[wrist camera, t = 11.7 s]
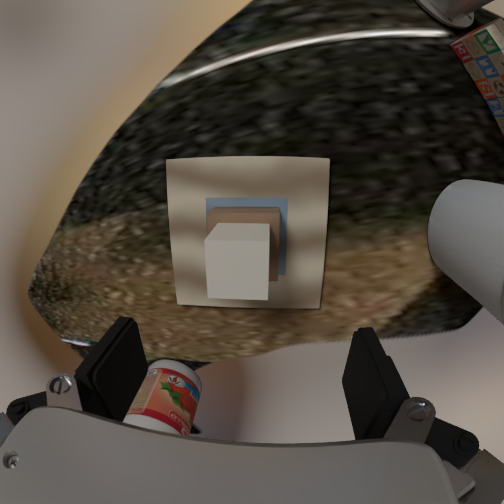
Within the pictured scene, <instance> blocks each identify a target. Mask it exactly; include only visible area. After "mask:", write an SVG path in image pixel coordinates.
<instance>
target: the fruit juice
mask: <svg viewBox="0 0 504 504" xmlns="http://www.w3.org/2000/svg"><path fill="white" fill-rule="evenodd" d="M201 389H202V386H201V381H200V378H199V377H198V375H197V374H196V373H195V372H194V371H193V370H192V369H191V368H190V367H188V366H186V365H185V364H183V363H180V362H177V361H174V360H159V361H156V362H154V363H153V364H151V365H150V366H149V368H148V373H147V375H146V377H145V379H144V381H143V383H142V385H141V387H140V389H139V391H138V393H137V395H136V397H135V399H134V401H133V402H132V404H131V406H130V408H129V410H128V412H127V414H126V416H125V418H124V420H123V422H124V423H128V424H132V425H136V426H140V427H144V428H148V429H153V430H158V431H163V432H168V433H173V434H179V435H185V436H189V434H190V431H191V427H192V423H193V420H194V416H195V412H196V409H197V405H198V402H199V398H200V395H201Z"/></svg>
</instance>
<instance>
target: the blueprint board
mask: <svg viewBox="0 0 504 504" xmlns="http://www.w3.org/2000/svg"><path fill="white" fill-rule="evenodd" d="M329 165H330V159H327V158H308V157H278V156H233V157H203V158H184V159H170V160H166V170H167V194H168V212H169V226H170V238H171V250H172V260H173V270H174V279H175V287H176V295H177V303H178V304H182V305H199V306H219V307H245V308H319V307H320V298H321V289H322V279H323V269H324V258H325V245H326V231H327V215H328V195H329ZM220 206H249V207H279V213H280V223H279V261H278V281H268V300H244V299H219V298H208V294H207V279H206V263H205V243H204V240H205V239H206V237H207V236H208V226H207V213H208V212H209V211H210V210H211V209H212V208H214V207H220Z"/></svg>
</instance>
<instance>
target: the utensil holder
mask: <svg viewBox="0 0 504 504" xmlns="http://www.w3.org/2000/svg"><path fill="white" fill-rule="evenodd" d="M428 246H429V250H430V254H431V256H432V259H433V261H434V262H435V264H436V265H437V266H438V268H440V269H441V270H442V271H443V272H444V273H445V274H446V275H448V276H449V277H450V278H451V279H452V280H453V281H454V282H456V283H457V284H458V285H459V286H460V287H462V288H463V289H464V290H465V291H466V292H468V293H469V294H470V295H471V296H472V297H474V298H475V299H476V300H477V301H478V302H479V303H480V304H481V305H483V306H484V307H485V308H486V309H487V310H488V311H489V312H490V313H491V314H492V315H493V316H495V317H496V318H497V319H498V320H499V321H500V322H501V323H502V324H503V325H504V185H501V184H496V183H491V182H484V181H477V180H465V179H464V180H459V181H456V182H454V183H452V184H450V185H449V186H448V187H447V188H445V189H444V190H443V192H442V193H441V194H440V195H439V197H438V199H437V200H436V202H435V204H434V206H433V209H432V212H431V215H430V219H429V224H428Z"/></svg>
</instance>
